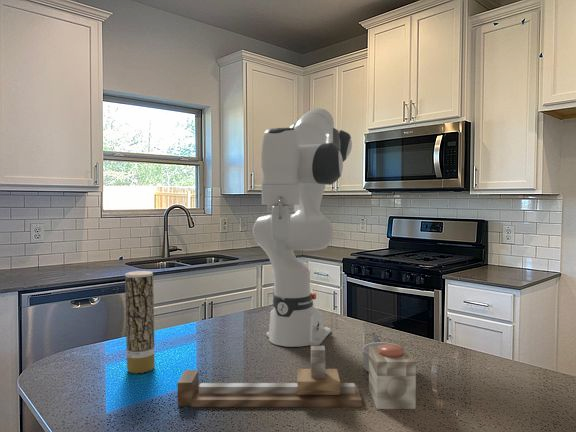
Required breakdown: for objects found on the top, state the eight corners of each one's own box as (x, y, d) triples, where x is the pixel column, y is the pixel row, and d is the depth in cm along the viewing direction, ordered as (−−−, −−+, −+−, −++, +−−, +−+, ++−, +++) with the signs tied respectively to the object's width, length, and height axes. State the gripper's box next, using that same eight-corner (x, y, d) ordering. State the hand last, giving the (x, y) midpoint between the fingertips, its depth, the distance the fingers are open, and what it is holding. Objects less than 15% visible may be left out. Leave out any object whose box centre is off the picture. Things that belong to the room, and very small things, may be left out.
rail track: (175, 409, 93) (174, 362, 92) (187, 388, 103) (186, 346, 103) (416, 409, 92) (416, 362, 92) (403, 388, 103) (403, 345, 102)
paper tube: (146, 375, 111) (144, 275, 110) (121, 373, 112) (119, 275, 111) (159, 365, 118) (157, 271, 117) (136, 363, 119) (134, 270, 118)
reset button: (381, 371, 95) (381, 352, 95) (376, 362, 100) (377, 343, 100) (406, 370, 95) (406, 351, 95) (400, 361, 100) (400, 343, 100)
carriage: (297, 397, 94) (297, 353, 94) (297, 383, 101) (297, 342, 101) (340, 397, 94) (340, 353, 94) (336, 383, 101) (336, 342, 101)
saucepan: (392, 351, 128) (393, 332, 128) (413, 379, 108) (413, 357, 108) (352, 351, 128) (352, 332, 128) (366, 380, 108) (366, 357, 108)
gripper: (295, 197, 93) (295, 263, 94) (293, 196, 114) (293, 250, 115) (264, 197, 93) (265, 263, 94) (268, 197, 114) (269, 250, 114)
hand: (281, 256), depth 104 cm, fingers closed
